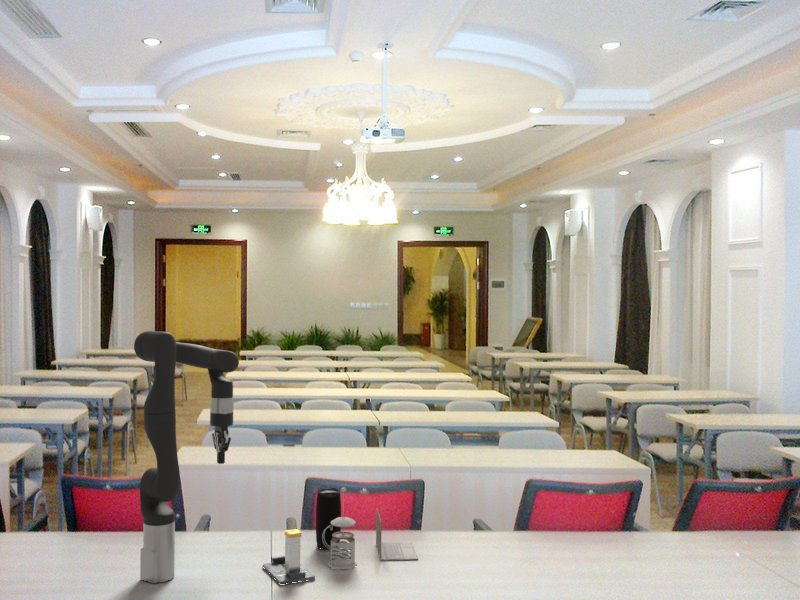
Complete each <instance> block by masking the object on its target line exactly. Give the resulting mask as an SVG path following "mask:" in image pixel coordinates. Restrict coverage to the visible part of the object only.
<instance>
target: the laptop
mask: <svg viewBox="0 0 800 600" xmlns="http://www.w3.org/2000/svg"><path fill="white" fill-rule="evenodd" d="M375 516H376V523H375V524H376V526H375V527H376V530H375V532H376V533H375V544H376V548H378V549H377V552H379V553H378V556H379V561H380V560H381V561H380V562H391V561H393V562H394V561H409V560H410V561H412V560H414V561H415V560H416V561H417V560H418V559H419V558H418V554H417V553H416V550H415V547H414V545H413V541H382V526H383V525H382V519H381V515H380V512H379V509H378V507H376V515H375Z"/></svg>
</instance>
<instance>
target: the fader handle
mask: <svg viewBox="0 0 800 600" xmlns="http://www.w3.org/2000/svg"><path fill="white" fill-rule="evenodd" d="M284 536H285V538H284V539H285V543H284V545H285V547H284V548H285V549H284V551H285V553H284V554H285V555H284V556H285V571H286V573H288V574H291V573H297V572H300V564H301V546H302V545H301V540H302V539H301V537H302V532H301V531H300V530H299V529H297V528H296V529H288V530H284Z"/></svg>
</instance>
